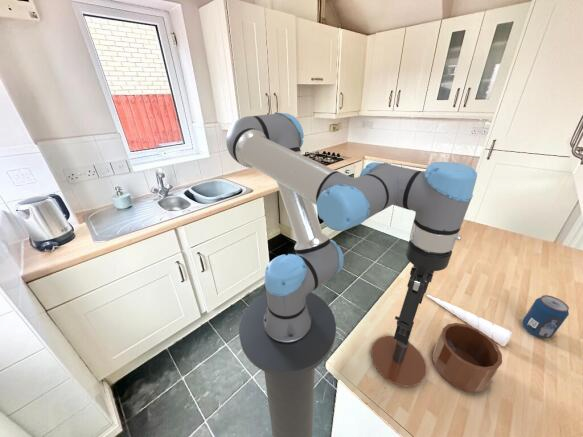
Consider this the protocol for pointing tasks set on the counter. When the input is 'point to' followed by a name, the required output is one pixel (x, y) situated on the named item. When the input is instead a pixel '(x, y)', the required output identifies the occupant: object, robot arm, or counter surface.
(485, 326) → the unicorn horn
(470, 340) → the crock
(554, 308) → the soda can
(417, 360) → the crock lid
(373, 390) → the counter surface
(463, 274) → the counter surface
